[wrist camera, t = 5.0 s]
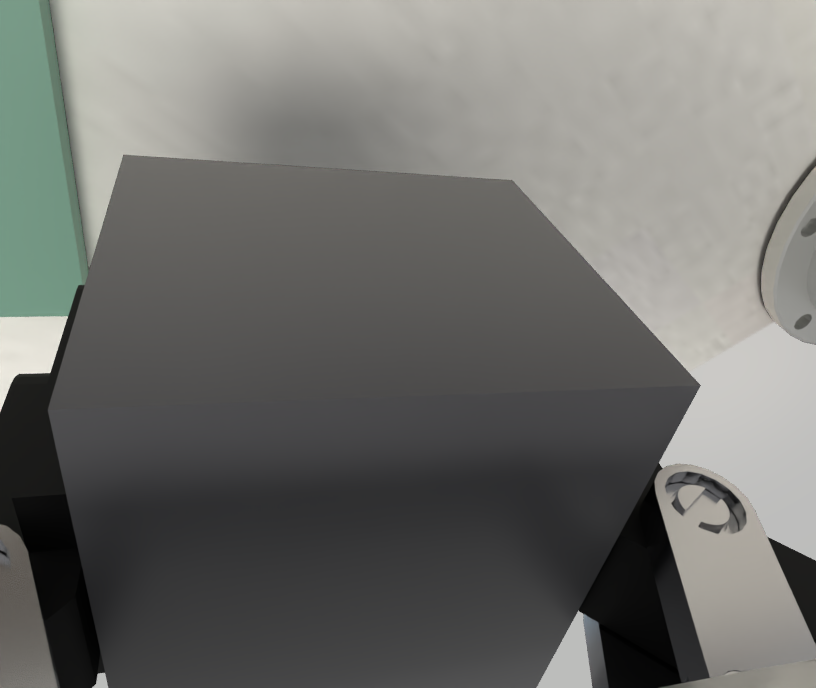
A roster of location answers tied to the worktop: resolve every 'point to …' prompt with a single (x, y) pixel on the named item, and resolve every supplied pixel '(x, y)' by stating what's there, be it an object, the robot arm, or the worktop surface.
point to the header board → (35, 171)
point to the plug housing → (346, 428)
